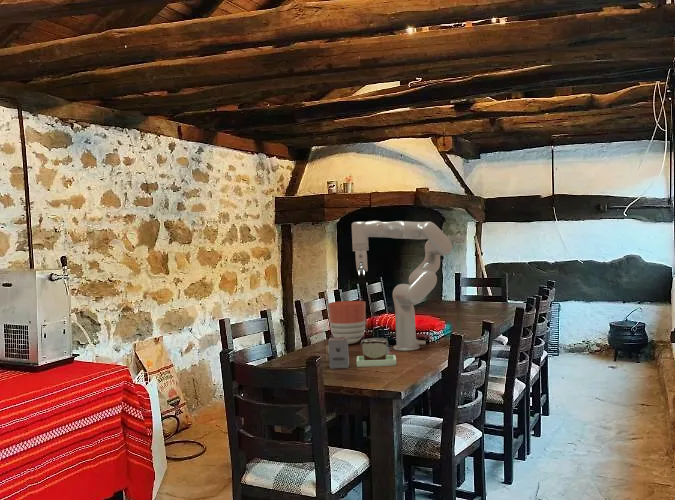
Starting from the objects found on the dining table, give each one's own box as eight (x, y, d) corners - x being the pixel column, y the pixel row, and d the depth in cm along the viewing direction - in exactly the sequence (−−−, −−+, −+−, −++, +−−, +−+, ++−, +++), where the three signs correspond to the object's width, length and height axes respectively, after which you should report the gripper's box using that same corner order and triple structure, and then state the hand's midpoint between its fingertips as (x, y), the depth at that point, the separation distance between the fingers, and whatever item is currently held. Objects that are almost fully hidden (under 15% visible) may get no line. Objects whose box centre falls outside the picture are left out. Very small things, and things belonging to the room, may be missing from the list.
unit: (349, 364, 268) (347, 336, 268) (348, 368, 259) (347, 340, 259) (330, 364, 268) (328, 337, 268) (328, 369, 260) (327, 340, 259)
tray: (395, 360, 271) (395, 354, 271) (396, 365, 260) (396, 359, 260) (357, 361, 272) (356, 356, 272) (356, 367, 261) (356, 361, 261)
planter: (365, 339, 331) (364, 300, 330) (368, 345, 311) (366, 303, 311) (329, 341, 330) (328, 301, 330) (330, 347, 311) (328, 305, 310)
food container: (391, 360, 268) (390, 337, 268) (389, 363, 262) (387, 340, 262) (364, 360, 272) (363, 337, 271) (361, 363, 266) (360, 340, 266)
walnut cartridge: (337, 359, 279) (337, 344, 278) (337, 362, 274) (336, 346, 273) (326, 360, 279) (326, 345, 279) (326, 362, 274) (325, 347, 274)
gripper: (368, 247, 280) (370, 285, 280) (368, 247, 297) (370, 282, 297) (352, 248, 280) (353, 285, 280) (353, 247, 297) (354, 282, 298)
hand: (362, 283), depth 289 cm, fingers open, 9 cm apart
